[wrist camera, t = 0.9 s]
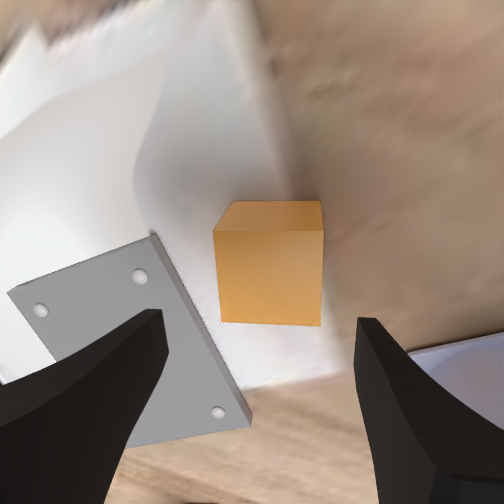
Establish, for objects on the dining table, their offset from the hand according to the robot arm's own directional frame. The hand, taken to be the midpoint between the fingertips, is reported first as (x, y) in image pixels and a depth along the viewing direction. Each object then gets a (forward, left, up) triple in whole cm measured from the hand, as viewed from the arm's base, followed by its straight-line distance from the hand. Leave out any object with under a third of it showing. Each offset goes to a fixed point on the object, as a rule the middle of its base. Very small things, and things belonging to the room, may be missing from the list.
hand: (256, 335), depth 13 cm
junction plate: (-5, +13, -9) cm, 17 cm away
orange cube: (0, 0, -9) cm, 9 cm away
